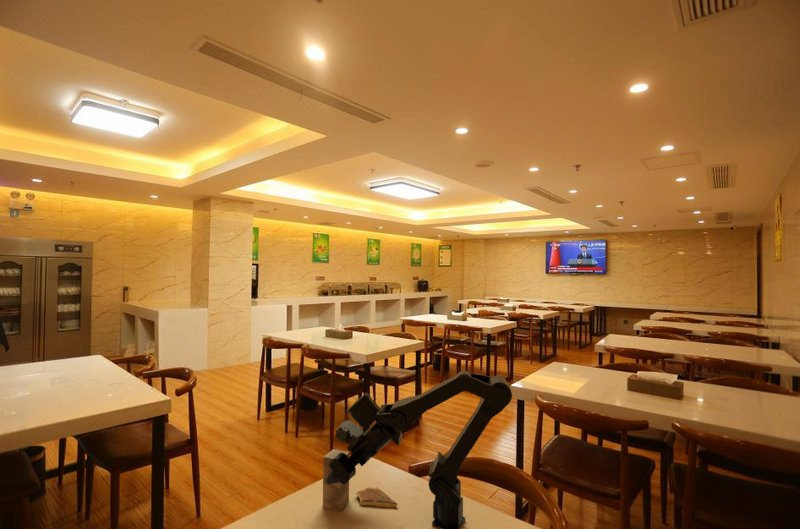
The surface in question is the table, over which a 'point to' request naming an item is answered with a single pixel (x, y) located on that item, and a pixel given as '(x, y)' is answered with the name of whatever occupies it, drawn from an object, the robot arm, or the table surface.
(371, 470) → the table surface
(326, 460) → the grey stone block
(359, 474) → the table surface
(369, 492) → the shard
